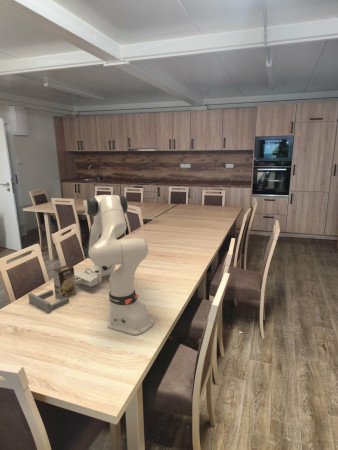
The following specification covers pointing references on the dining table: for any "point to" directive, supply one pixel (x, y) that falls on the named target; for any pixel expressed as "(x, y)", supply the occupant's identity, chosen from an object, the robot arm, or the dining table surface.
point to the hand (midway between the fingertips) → (71, 282)
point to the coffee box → (64, 282)
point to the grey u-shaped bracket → (45, 305)
